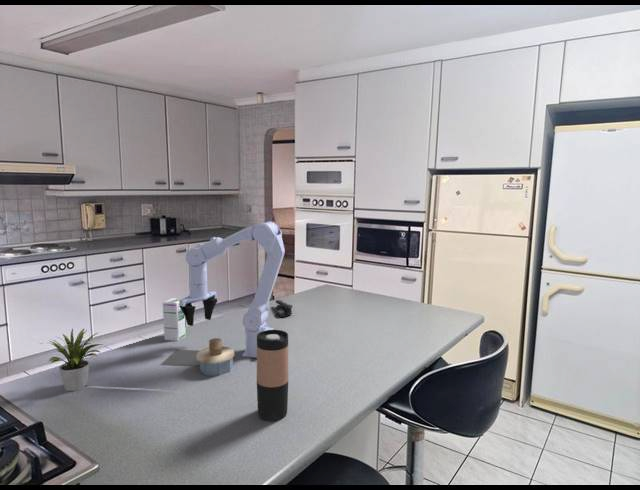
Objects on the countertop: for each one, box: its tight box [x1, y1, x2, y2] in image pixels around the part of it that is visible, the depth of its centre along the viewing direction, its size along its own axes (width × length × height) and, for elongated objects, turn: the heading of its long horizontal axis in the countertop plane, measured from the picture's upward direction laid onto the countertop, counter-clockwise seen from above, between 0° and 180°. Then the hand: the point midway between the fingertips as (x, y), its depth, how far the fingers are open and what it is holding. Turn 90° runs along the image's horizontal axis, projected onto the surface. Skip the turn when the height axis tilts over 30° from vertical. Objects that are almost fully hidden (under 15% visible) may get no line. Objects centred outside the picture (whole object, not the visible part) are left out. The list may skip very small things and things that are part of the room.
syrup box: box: [162, 297, 188, 342], centre depth 147 cm, size 6×6×14 cm
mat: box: [159, 349, 200, 368], centre depth 131 cm, size 12×12×1 cm
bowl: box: [199, 357, 234, 377], centre depth 123 cm, size 9×9×4 cm
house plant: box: [39, 328, 105, 392], centre depth 109 cm, size 14×14×16 cm
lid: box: [197, 338, 235, 364], centre depth 122 cm, size 11×11×5 cm
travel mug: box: [256, 329, 289, 422], centre depth 99 cm, size 8×8×20 cm
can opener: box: [275, 299, 293, 317], centre depth 183 cm, size 18×7×6 cm, turn 18°
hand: (199, 322), depth 138 cm, fingers open, 7 cm apart
